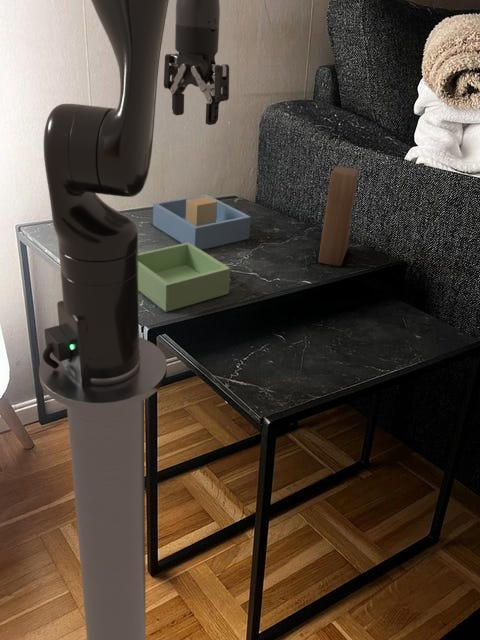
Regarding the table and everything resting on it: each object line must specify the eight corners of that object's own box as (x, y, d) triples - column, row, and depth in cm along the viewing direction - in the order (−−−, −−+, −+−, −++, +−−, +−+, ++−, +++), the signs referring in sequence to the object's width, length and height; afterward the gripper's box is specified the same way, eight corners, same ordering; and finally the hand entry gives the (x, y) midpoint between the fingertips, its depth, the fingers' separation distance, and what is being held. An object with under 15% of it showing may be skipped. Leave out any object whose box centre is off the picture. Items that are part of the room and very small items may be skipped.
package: (196, 233, 124) (197, 205, 121) (185, 227, 127) (186, 199, 124) (216, 229, 127) (217, 201, 124) (204, 223, 130) (206, 195, 127)
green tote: (165, 312, 97) (166, 285, 95) (126, 281, 106) (126, 255, 103) (228, 293, 104) (230, 268, 102) (187, 266, 113) (188, 242, 110)
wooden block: (325, 246, 126) (338, 159, 117) (347, 250, 125) (362, 162, 116) (317, 263, 118) (331, 171, 109) (340, 267, 117) (356, 175, 108)
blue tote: (194, 251, 119) (195, 228, 116) (152, 225, 129) (152, 203, 127) (249, 238, 126) (250, 216, 124) (205, 214, 137) (206, 194, 134)
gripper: (153, 18, 107) (153, 114, 115) (212, 28, 99) (208, 130, 107) (184, 18, 112) (182, 109, 120) (242, 27, 104) (236, 124, 112)
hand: (194, 119), depth 113 cm, fingers open, 8 cm apart
